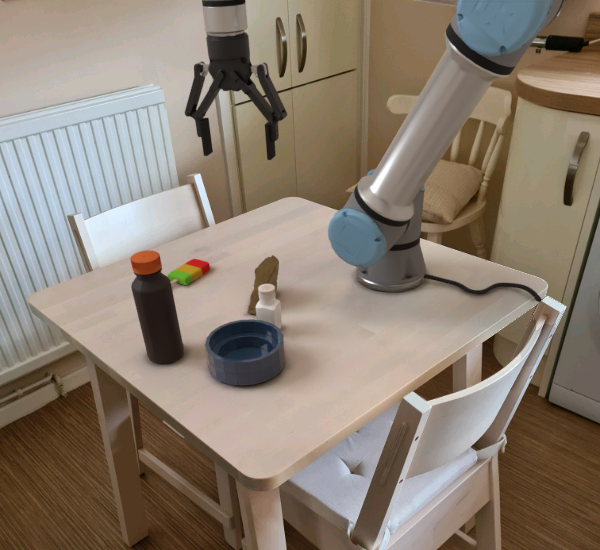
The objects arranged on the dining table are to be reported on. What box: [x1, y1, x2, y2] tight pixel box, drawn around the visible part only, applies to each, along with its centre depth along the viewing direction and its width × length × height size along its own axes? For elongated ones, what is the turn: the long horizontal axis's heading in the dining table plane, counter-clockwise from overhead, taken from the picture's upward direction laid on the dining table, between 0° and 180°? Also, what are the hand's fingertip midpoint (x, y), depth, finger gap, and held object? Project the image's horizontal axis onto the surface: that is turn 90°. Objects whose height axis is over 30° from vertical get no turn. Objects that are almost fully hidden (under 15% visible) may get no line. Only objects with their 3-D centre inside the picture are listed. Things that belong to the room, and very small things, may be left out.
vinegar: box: [129, 249, 185, 365], centre depth 110 cm, size 7×7×20 cm
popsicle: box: [167, 258, 211, 286], centre depth 139 cm, size 6×15×2 cm, turn 147°
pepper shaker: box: [256, 284, 283, 330], centre depth 118 cm, size 4×4×10 cm
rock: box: [247, 255, 280, 315], centre depth 128 cm, size 11×9×10 cm
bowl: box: [204, 318, 286, 386], centre depth 111 cm, size 14×14×6 cm
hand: (239, 156), depth 122 cm, fingers open, 13 cm apart
